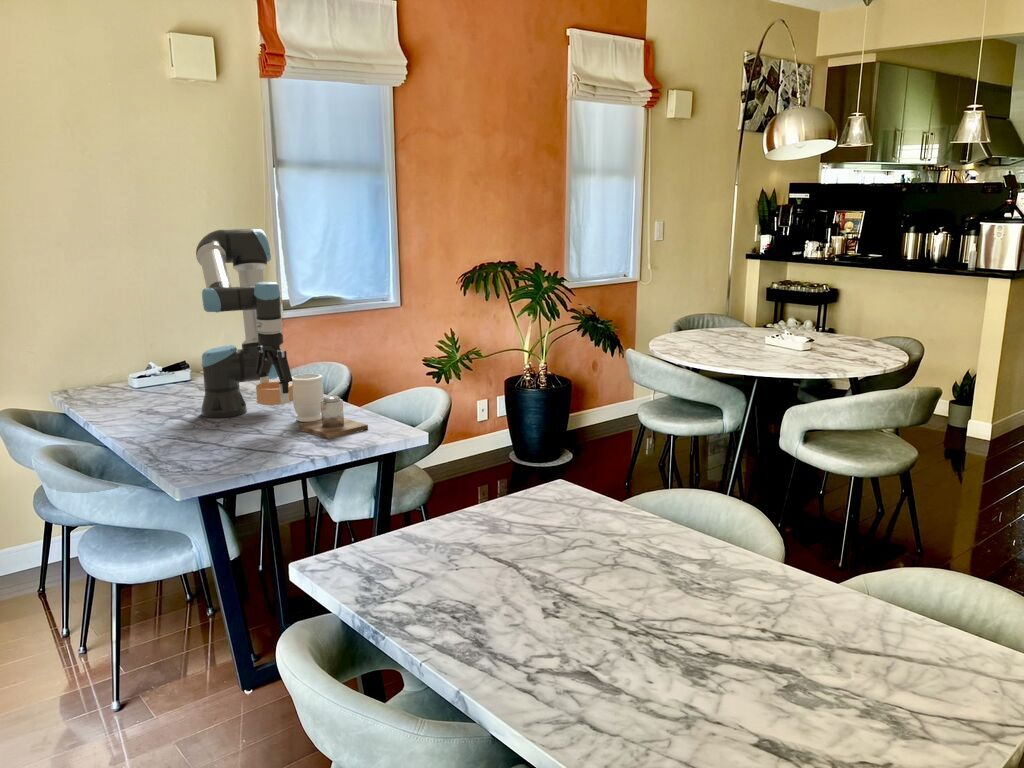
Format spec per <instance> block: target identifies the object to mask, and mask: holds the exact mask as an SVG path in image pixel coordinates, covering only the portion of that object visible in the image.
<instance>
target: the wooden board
mask: <svg viewBox="0 0 1024 768" xmlns="http://www.w3.org/2000/svg"><path fill="white" fill-rule="evenodd" d="M365 429H367V430H369V425H368V424H366V423H362V422H360V421H359V422H358V421H355V420H353V419H349V418H345V417H344V425H343V426H341V427H336V428H326V427H323V426H322V419H320V420H318V421H313V422H305V423H302V424H298V430H300V431H302V432H306V433H308V434H312V435H315V436H318V437H321V438H324V439H327V440H330V439H331V440H332V439H335V438H338V437H342V436H343V437H344V436H346V435H350V433H351V434H355V433H358V432H357V431H359V432H362V431H361V430H363V431H366V430H365ZM354 432H355V433H354Z"/></svg>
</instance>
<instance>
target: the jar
mask: <svg viewBox="0 0 1024 768" xmlns="http://www.w3.org/2000/svg"><path fill="white" fill-rule="evenodd" d="M291 376H292V375H291ZM322 379H323V375H322V374H319V373H301V374H296V375H293V376H292V381H291V383H292V389H293V401H292V404H293V409H294V412H295V413H296V421H297V422H301V423H310V422H315V421H319V420H322V416H321V401H322V400H323V398H324V396H325V395H324V386H323V383H322Z"/></svg>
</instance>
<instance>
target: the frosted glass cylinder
mask: <svg viewBox="0 0 1024 768" xmlns="http://www.w3.org/2000/svg"><path fill="white" fill-rule="evenodd" d="M320 415H321V416H322V419H321V420H322V426H323V427H326V428H336V427H341V426H343V425H344V418H345V417H344V416H345V415H344V400H343V399H341V397H340V396H338V395H330V396H325V397H323V400H322V401H321V413H320Z"/></svg>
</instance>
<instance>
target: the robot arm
mask: <svg viewBox="0 0 1024 768" xmlns="http://www.w3.org/2000/svg"><path fill="white" fill-rule="evenodd" d="M195 254H196V256H195V257H196V261H197V263H198V264H199V265H200V266H201V269H202V273H203V278H204V283H205V287H206V288H204V289H202V291H201V297H202V307H203V310H204V311H205V312H207V313H222V312H236V311H238V312H239V311H242V316H243V317H242V318H243V326H244V334H245V335H244V337H245V339H244V341H243V342H242V343H241V349H237V347H236V345H234V344H233V345H232V344H231V345H223V346H218V347H213V348H210V349H207V350H205V351H204V352H203V353H202V355H201V367H202V374H203V384H204V397H203V400H202V403H201V404H202V405H201V408H200V410H201V416H202V417H204V418H212V419H217V418H218V419H221V418H231V417H232V418H233V417H236V416H241V415H243V414H246V413H247V412H248V411H247V409H248V408H247V407H248V406H247V403H246V400H245V399H244V397H243V393H242V392H241V389H240V383H247V382H258V381H259V384H261V383H266V382H270V380H276V379H277V378H278V379H279V380H278V381H280V382H279V390H280V405H284V403H285V404H288V403H290V402H289V390H288V382H290V383H292V373H291V369H290V365H289V361H288V355H287V350H285V349H284V350H282V347H281V345H283V343H284V336H283V332H282V331H283V319H282V309H281V291H280V285H279V283H278V282H275V281H265V274H264V271H265V269H266V268H267V267H268V263H269V262H270V261H271V260H272V259H271V258H272V255H271V248H270V244H269V240H268V237H267V235H266V232H265V231H264V230H263V229H259V228H240V229H239V228H237V229H236V228H235V229H217V230H214V231H211V232H209V233H207V234H206V235H205V236H203V237H202V239H201V240H200V241H199V243H198V244H197V246H196V250H195ZM226 264H232V268H233V270H235V271H236V272H237V273H238V280H239V281H238V282H239V286H232V284H231V280H230V277H229V274H228V269H227V265H226Z"/></svg>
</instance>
